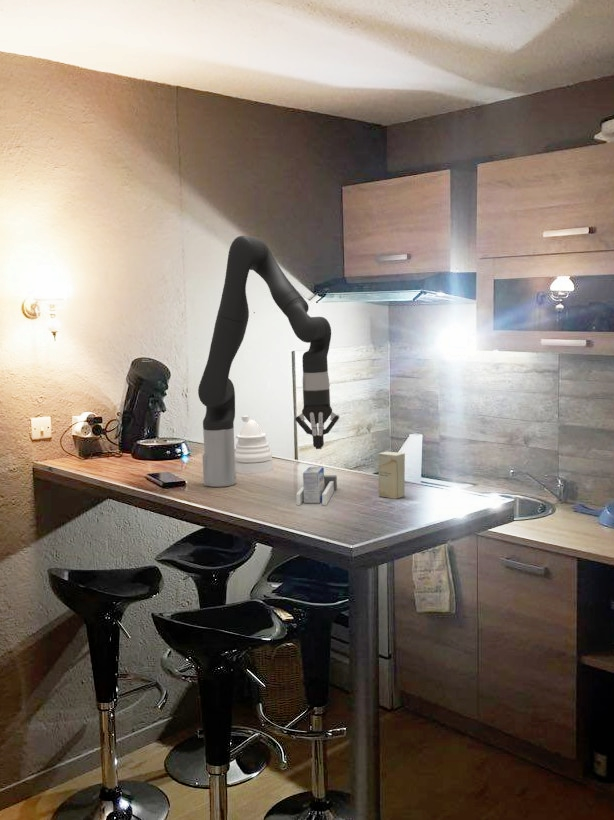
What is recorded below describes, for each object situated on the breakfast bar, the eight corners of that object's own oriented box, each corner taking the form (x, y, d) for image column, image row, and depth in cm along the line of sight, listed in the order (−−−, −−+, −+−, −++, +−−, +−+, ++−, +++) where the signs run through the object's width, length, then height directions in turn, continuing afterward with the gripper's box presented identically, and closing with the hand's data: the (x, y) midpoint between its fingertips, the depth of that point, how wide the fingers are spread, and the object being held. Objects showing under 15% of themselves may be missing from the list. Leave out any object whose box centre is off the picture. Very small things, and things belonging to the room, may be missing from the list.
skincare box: (378, 496, 233) (377, 453, 232) (387, 493, 237) (386, 450, 235) (397, 499, 230) (396, 455, 228) (406, 496, 233) (405, 452, 232)
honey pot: (230, 473, 273) (227, 419, 271) (238, 466, 286) (235, 413, 284) (269, 473, 272) (267, 418, 270) (275, 466, 285) (273, 413, 282)
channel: (294, 505, 226) (294, 490, 226) (306, 488, 247) (306, 475, 246) (328, 505, 225) (327, 490, 225) (337, 488, 245) (336, 475, 245)
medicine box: (319, 503, 227) (318, 472, 226) (303, 503, 228) (302, 472, 227) (325, 497, 235) (324, 466, 234) (309, 497, 236) (308, 466, 235)
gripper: (290, 390, 235) (293, 451, 237) (337, 388, 233) (340, 450, 235) (295, 387, 242) (297, 446, 244) (340, 386, 240) (343, 445, 242)
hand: (318, 448), depth 240 cm, fingers closed
